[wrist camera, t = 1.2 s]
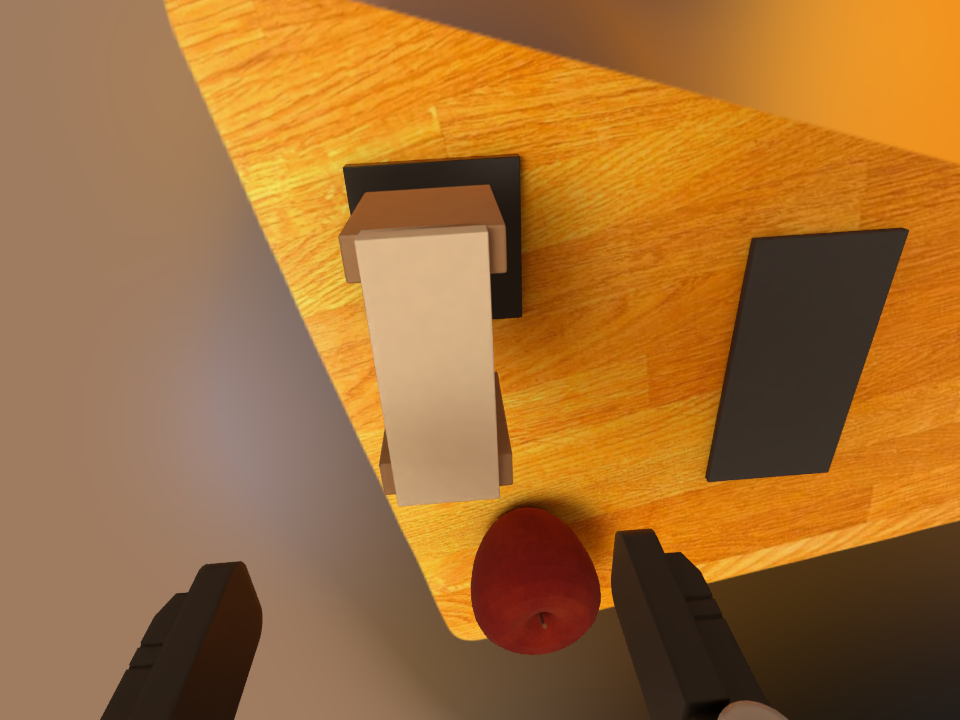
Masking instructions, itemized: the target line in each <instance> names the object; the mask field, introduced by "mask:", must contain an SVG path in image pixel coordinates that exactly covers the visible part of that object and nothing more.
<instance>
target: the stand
mask: <svg viewBox="0 0 960 720" xmlns="http://www.w3.org/2000/svg"><path fill="white" fill-rule="evenodd" d="M343 172H344V178H345V184H346V190H347V196H348V202H349V208H350V214H351V215H352V213H353V212H354V210H355V208H356V207H357V205H358V203H359V202H360V200H361V198H362V197H363V195H364V194H365V193H366V192H380V191H395V190H411V189H426V188H442V187H457V186H473V185H490V188H491V190H492V193H493V195H494V198H495V200H496V203H497V205H498V208H499V210H500V213H501V215H502V218H503V221H504V223H505V226H506V252H507V271H506V272H505V273H494V274H490V283H491V306H492V319H505V318H519V317H522V264H521V193H520V156H519V155H518V154H507V155H491V156H475V157H459V158H443V159H427V160H411V161H395V162H379V163H363V164H347V165H345V166H344V167H343Z"/></svg>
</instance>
